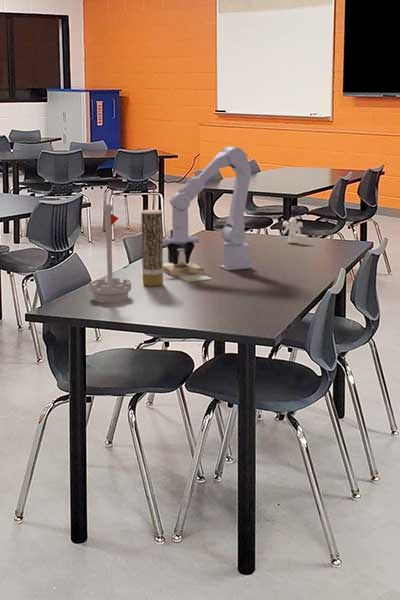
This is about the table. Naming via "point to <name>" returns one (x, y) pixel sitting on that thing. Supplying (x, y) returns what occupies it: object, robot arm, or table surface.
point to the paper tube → (152, 247)
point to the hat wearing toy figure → (292, 228)
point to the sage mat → (195, 277)
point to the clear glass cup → (181, 258)
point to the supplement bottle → (180, 246)
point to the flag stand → (110, 271)
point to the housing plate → (182, 269)
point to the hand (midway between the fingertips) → (180, 263)
